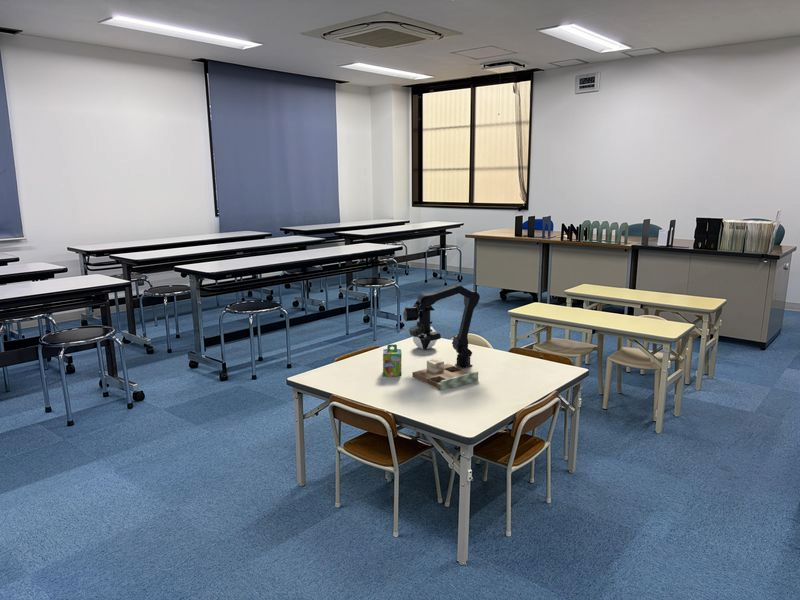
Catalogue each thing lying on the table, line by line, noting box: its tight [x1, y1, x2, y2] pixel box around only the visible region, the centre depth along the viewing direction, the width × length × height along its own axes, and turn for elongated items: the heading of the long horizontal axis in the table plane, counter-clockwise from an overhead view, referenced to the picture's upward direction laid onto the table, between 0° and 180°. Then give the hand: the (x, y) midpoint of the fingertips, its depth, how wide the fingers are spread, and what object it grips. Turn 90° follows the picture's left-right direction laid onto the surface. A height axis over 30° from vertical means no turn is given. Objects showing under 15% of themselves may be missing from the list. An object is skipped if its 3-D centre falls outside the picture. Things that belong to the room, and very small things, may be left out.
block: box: [426, 358, 445, 373], centre depth 281 cm, size 6×6×4 cm
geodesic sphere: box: [412, 326, 438, 350], centre depth 325 cm, size 15×14×14 cm
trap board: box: [412, 363, 479, 392], centre depth 275 cm, size 22×23×4 cm
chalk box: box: [382, 343, 402, 377], centre depth 283 cm, size 9×9×15 cm
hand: (425, 349), depth 287 cm, fingers closed
